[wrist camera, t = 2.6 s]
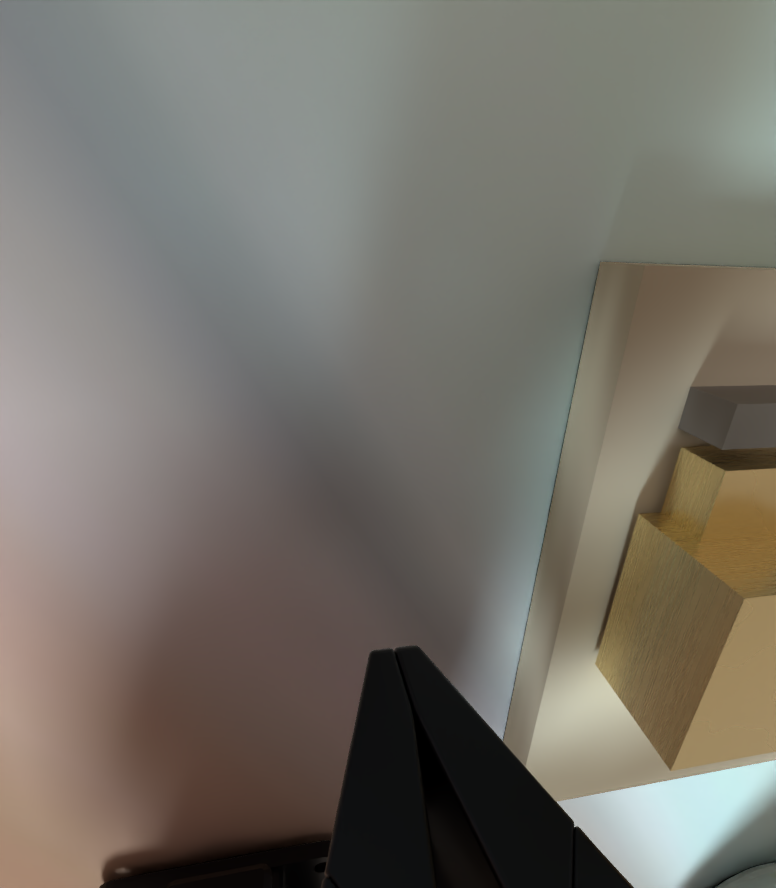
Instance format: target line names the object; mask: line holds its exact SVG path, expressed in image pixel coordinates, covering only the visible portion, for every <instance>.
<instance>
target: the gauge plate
mask: <svg viewBox="0 0 776 888" xmlns="http://www.w3.org/2000/svg"><path fill="white" fill-rule="evenodd" d="M694 446H715V447H717V448H719V449H721V450H729V449H751V448H773V447H776V268H758V267H732V266H705V265H678V264H651V263H624V262H600V265H599V270H598V275H597V280H596V285H595V290H594V295H593V300H592V305H591V310H590V315H589V320H588V325H587V330H586V335H585V340H584V344H583V349H582V354H581V359H580V364H579V369H578V374H577V379H576V384H575V389H574V394H573V399H572V404H571V409H570V414H569V419H568V424H567V428H566V433H565V438H564V443H563V448H562V453H561V458H560V463H559V468H558V473H557V478H556V483H555V488H554V493H553V498H552V503H551V507H550V512H549V517H548V522H547V527H546V532H545V537H544V542H543V547H542V552H541V557H540V562H539V567H538V572H537V577H536V582H535V586H534V591H533V596H532V601H531V606H530V611H529V616H528V621H527V626H526V631H525V636H524V641H523V646H522V651H521V656H520V661H519V665H518V670H517V675H516V680H515V685H514V690H513V695H512V700H511V705H510V710H509V715H508V720H507V725H506V730H505V735H504V740H503V742H504V743H505V745H506V746H507V747H508V748H509V749H510V750H511V751H512V752H513V754H514V755H515V756H516V757H517V758H518V759H519V760H520V761H521V763H522V764H523V765H524V766H525V767H526V768H527V769H528V771H529V772H530V773H531V774H532V775H533V776H534V777H535V778H536V780H537V781H538V782H539V783H540V784H541V785H542V786H543V787H544V789H545V790H546V791H547V792H548V793H549V794H550V795H551V796H552V798H553V799H554V800H555V801H556V802H557V801H562V800H567V799H573V798H578V797H583V796H588V795H594V794H599V793H604V792H609V791H615V790H620V789H625V788H630V787H636V786H641V785H646V784H651V783H657V782H662V781H667V780H672V779H678V778H683V777H688V776H693V775H699V774H704V773H709V772H715V771H720V770H725V769H730V768H736V767H741V766H746V765H751V764H757V763H762V762H767V761H772V760H776V752H771V753H766V754H760V755H755V756H750V757H744V758H739V759H734V760H728V761H723V762H717V763H712V764H707V765H701V766H696V767H691V768H685V769H680V770H674V771H670V769H669V768H668V767H667V765H666V764H665V762H664V761H663V760H662V758H661V757H660V755H659V754H658V752H657V751H656V750H655V748H654V747H653V745H652V744H651V743H650V741H649V740H648V738H647V737H646V735H645V734H644V733H643V731H642V730H641V728H640V727H639V726H638V724H637V723H636V721H635V720H634V719H633V717H632V716H631V714H630V713H629V711H628V710H627V709H626V707H625V706H624V704H623V703H622V702H621V700H620V699H619V697H618V696H617V694H616V693H615V692H614V690H613V689H612V687H611V686H610V685H609V683H608V682H607V680H606V679H605V677H604V676H603V675H602V673H601V672H600V670H599V669H598V668H597V666H596V665H595V662H596V659H597V655H598V652H599V649H600V645H601V642H602V638H603V635H604V631H605V628H606V624H607V621H608V617H609V614H610V611H611V607H612V604H613V600H614V597H615V593H616V590H617V586H618V583H619V580H620V576H621V573H622V569H623V566H624V562H625V559H626V555H627V552H628V548H629V545H630V542H631V538H632V535H633V531H634V528H635V524H636V521H637V517H638V514H641V513H655V512H661V511H662V507H663V504H664V501H665V498H666V495H667V491H668V488H669V485H670V482H671V479H672V475H673V472H674V469H675V466H676V462H677V459H678V456H679V453H680V450H681V447H694Z"/></svg>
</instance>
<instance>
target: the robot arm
mask: <svg viewBox="0 0 776 888" xmlns="http://www.w3.org/2000/svg"><path fill="white" fill-rule="evenodd" d="M99 888H634V887H633V886H632V885H631V884H630V883H629V882H628V881H627V880H626V879H625V878H624V876H623V875H622V874H621V873H620V872H619V871H618V870H617V869H616V868H615V867H614V866H613V865H612V863H611V862H610V861H609V860H608V859H607V858H606V857H605V856H604V855H603V854H602V853H601V852H600V850H599V849H598V848H597V847H596V846H595V845H594V844H593V843H592V841H591V840H590V839H589V838H588V837H587V836H586V835H585V833H584V832H583V831H582V830H581V829H580V828H579V827H577V826H576V827H574V822H573V820H572V819H571V818H570V817H569V816H568V814H567V813H566V812H565V811H564V810H563V809H562V808H561V807H560V805H559V804H558V803H557V802H556V801H555V800H554V799H553V798H552V796H551V795H550V794H549V793H548V792H547V791H546V790H545V789H544V787H543V786H542V785H541V784H540V783H539V782H538V781H537V780H536V778H535V777H534V776H533V775H532V774H531V773H530V772H529V771H528V769H527V768H526V767H525V766H524V765H523V764H522V763H521V761H520V760H519V759H518V758H517V757H516V756H515V755H514V754H513V752H512V751H511V750H510V749H509V748H508V747H507V746H506V745H505V743H504V742H503V741H502V740H501V739H500V738H499V737H498V736H497V734H496V733H495V732H494V731H493V730H492V729H491V728H490V727H489V725H488V724H487V723H486V722H485V721H484V720H483V719H482V718H481V716H480V715H479V714H478V713H477V712H476V711H475V710H474V708H473V707H472V706H471V705H470V704H469V703H468V702H467V701H466V699H465V698H464V697H463V696H462V695H461V694H460V693H459V692H458V690H457V689H456V688H455V687H454V686H453V685H452V684H451V683H450V681H449V680H448V679H447V678H446V677H445V676H444V675H443V674H442V672H441V671H440V670H439V669H438V668H437V667H436V666H435V665H434V663H433V662H432V661H431V660H430V659H429V658H428V657H427V655H426V654H425V653H424V652H423V651H422V650H421V649H420V648H419V647H418V646H405V647H398V648H396V649H395V650H394V651H393V649H390V648H388V649H380V650H373V651H371V652H370V654H369V658H368V663H367V668H366V673H365V678H364V683H363V687H362V692H361V697H360V702H359V707H358V712H357V717H356V721H355V726H354V731H353V736H352V741H351V746H350V751H349V755H348V760H347V765H346V770H345V775H344V780H343V785H342V789H341V794H340V799H339V804H338V809H337V814H336V819H335V823H334V828H333V833H332V838H331V841H329V840H327V841H319V842H313V843H308V844H303V845H297V846H292V847H287V848H281V849H276V850H271V851H265V852H260V853H255V854H249V855H244V856H239V857H233V858H228V859H223V860H218V861H212V862H207V863H202V864H196V865H191V866H186V867H180V868H175V869H170V870H164V871H159V872H154V873H148V874H143V875H138V876H132V877H127V878H122V879H117V880H112V881H109V882H106V883H104V884H103V885H101V886H100V887H99Z"/></svg>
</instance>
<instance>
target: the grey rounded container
mask: <svg viewBox="0 0 776 888" xmlns="http://www.w3.org/2000/svg"><path fill="white" fill-rule="evenodd" d="M715 888H776V862H774V863H768V864H763V865H759V866H756V867H753V868H749V869H747V870H745V871H743V872H741V873H739V874H737V875H735V876H733V877H731V878H729V879H727V880H725V881H724V882H722V883H721V884H720V885H718V886H717V887H715Z"/></svg>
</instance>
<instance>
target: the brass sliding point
mask: <svg viewBox="0 0 776 888" xmlns="http://www.w3.org/2000/svg"><path fill="white" fill-rule="evenodd" d="M595 665H596V666H597V668H598V669H599V670H600V672H601V673H602V675H603V676H604V677H605V679H606V680H607V682H608V683H609V685H610V686H611V687H612V689H613V690H614V692H615V693H616V694H617V696H618V697H619V699H620V700H621V702H622V703H623V704H624V706H625V707H626V709H627V710H628V711H629V713H630V714H631V716H632V717H633V719H634V720H635V721H636V723H637V724H638V726H639V727H640V728H641V730H642V731H643V733H644V734H645V735H646V737H647V738H648V740H649V741H650V743H651V744H652V745H653V747H654V748H655V750H656V751H657V752H658V754H659V755H660V757H661V758H662V760H663V761H664V762H665V764H666V765H667V767H668V768H669V769H670V771H674V770H680V769H685V768H691V767H696V766H701V765H707V764H712V763H717V762H723V761H728V760H734V759H739V758H744V757H750V756H755V755H760V754H766V753H771V752H776V447H773V448H751V449H729V450H721V449H719V448H717V447H715V446H694V447H681V450H680V453H679V456H678V459H677V462H676V466H675V469H674V472H673V475H672V479H671V482H670V485H669V488H668V491H667V495H666V498H665V501H664V504H663V507H662V511H661V512H655V513H641V514H638V517H637V521H636V524H635V528H634V531H633V535H632V538H631V542H630V545H629V548H628V552H627V555H626V559H625V562H624V566H623V569H622V573H621V576H620V580H619V583H618V586H617V590H616V593H615V597H614V600H613V604H612V607H611V611H610V614H609V617H608V621H607V624H606V628H605V631H604V635H603V638H602V642H601V645H600V649H599V652H598V655H597V659H596V662H595Z"/></svg>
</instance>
